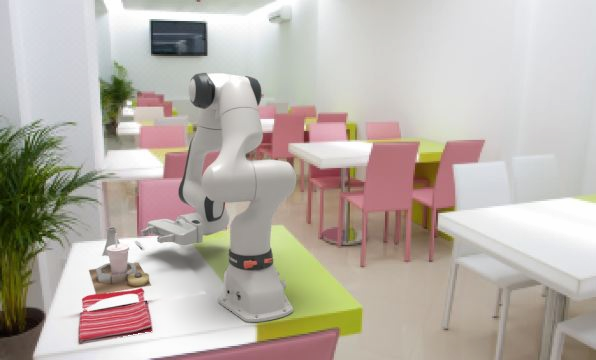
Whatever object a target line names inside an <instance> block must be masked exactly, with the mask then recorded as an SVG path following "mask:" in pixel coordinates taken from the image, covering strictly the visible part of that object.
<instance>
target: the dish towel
mask: <svg viewBox="0 0 596 360" xmlns="http://www.w3.org/2000/svg"><path fill="white" fill-rule="evenodd" d="M124 295H136V296H137V299H138V301H135V302H131V303H125V304H120V305H115V306H110V307H104V308H98V309H93V310H88V308H89V307H92V306H94V305H95V304H97V303H99V302H101V301H104V300H107V299H110V298H115V297H120V296H124ZM148 303H149V302H148V300H147V299H146V300H145V290H144V289H143V287H139V288H135V289H130V290H122V291H116V292H110V293H103V294H96V293H95V294H89V295H86V296H84V297H82V298H81V305H82V311H81V312H80V313H79V324H78V342H79V343H81V344H88V343H94V342H100V341H106V340H113V338H114V339H118V338H117V337H120V338H124V337H123V336H127V337H129V336H128V335H133V334H138V333H145V332H151V331H152V332H153V322H152V317H151V312H150V308H149V304H148ZM152 332H151V333H152ZM145 334H146V333H145ZM133 336H134V335H133Z"/></svg>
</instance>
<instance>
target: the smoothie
mask: <svg viewBox="0 0 596 360" xmlns="http://www.w3.org/2000/svg"><path fill="white" fill-rule="evenodd" d="M117 238H118V233H117V232H116V234H115V245H111V246H108V247H107V253H108V255H109V256H108V259H109V263H110V265H111V270H112V275H113V274H119V273H125V272H127V262H128V258H129V251H130V245H129V244H126V243H120V244H117Z"/></svg>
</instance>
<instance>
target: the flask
mask: <svg viewBox="0 0 596 360" xmlns="http://www.w3.org/2000/svg"><path fill="white" fill-rule="evenodd" d="M117 229H118V227H116V226H109V227H107V228H106V231H107V239H106V242H105V245H104V248H103V252H102V256H106V257H109V255H108V253H107V247H108V246H111V245H115V234H116V233H117ZM117 244H121V242H120V241H119V238H118V237H117Z"/></svg>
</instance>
